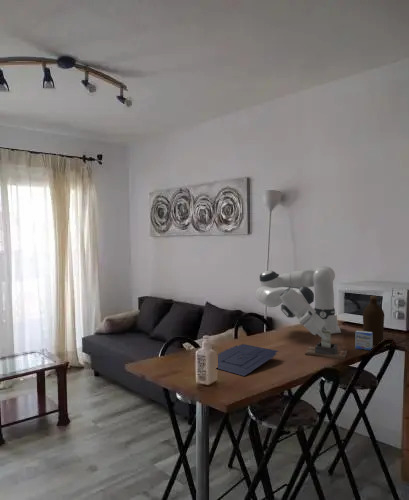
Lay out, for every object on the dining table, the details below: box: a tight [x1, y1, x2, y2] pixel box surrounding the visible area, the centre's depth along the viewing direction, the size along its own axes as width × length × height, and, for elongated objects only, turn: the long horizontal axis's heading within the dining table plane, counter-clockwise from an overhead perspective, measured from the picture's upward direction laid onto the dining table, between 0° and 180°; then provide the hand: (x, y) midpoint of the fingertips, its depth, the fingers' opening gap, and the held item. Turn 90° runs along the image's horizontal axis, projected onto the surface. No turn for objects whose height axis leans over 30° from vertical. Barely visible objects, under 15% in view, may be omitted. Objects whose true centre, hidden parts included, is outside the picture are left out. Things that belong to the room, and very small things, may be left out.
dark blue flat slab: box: [217, 343, 279, 377], centre depth 180 cm, size 24×30×4 cm
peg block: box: [320, 330, 332, 348], centre depth 193 cm, size 4×4×10 cm
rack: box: [304, 342, 348, 360], centre depth 193 cm, size 12×18×4 cm, turn 65°
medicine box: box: [354, 330, 374, 351], centre depth 202 cm, size 8×4×9 cm, turn 62°
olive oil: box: [362, 295, 385, 346], centre depth 213 cm, size 11×11×25 cm
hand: (327, 336), depth 193 cm, fingers open, 8 cm apart
